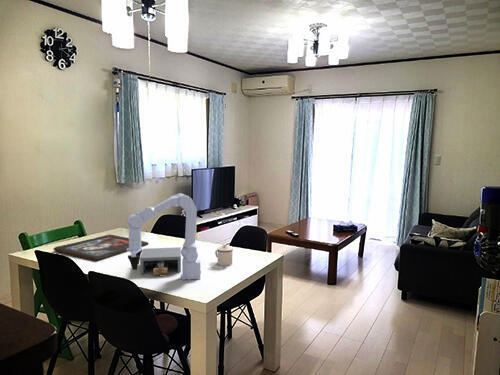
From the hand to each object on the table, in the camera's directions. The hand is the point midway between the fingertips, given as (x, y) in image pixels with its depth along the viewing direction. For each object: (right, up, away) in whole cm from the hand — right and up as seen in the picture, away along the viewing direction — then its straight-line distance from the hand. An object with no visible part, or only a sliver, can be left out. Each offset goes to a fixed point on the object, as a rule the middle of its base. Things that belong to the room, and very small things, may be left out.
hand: (135, 267), depth 177 cm
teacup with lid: (+40, -6, +37) cm, 55 cm away
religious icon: (-42, -2, +64) cm, 76 cm away
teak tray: (+7, -7, +22) cm, 24 cm away
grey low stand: (+6, -6, +28) cm, 29 cm away
